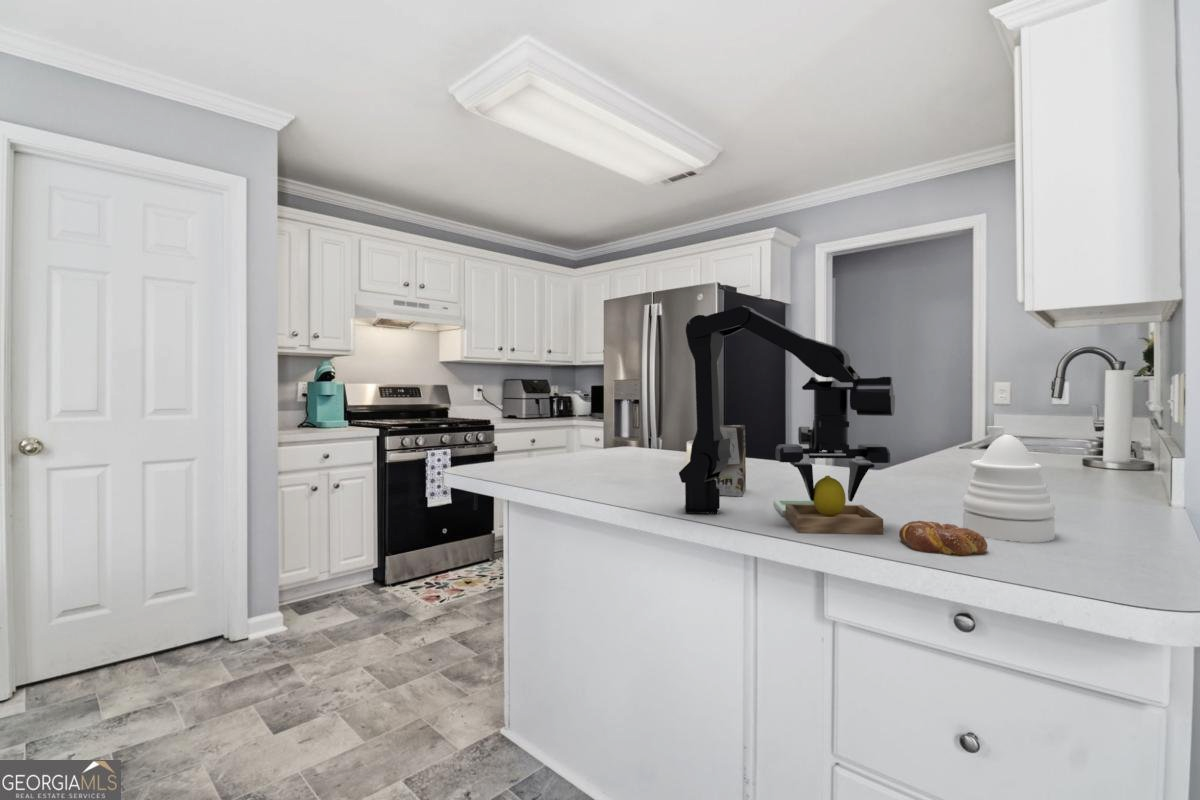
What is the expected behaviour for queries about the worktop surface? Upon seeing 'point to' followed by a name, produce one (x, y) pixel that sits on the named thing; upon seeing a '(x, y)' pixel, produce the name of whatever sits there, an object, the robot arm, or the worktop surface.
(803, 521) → the tray
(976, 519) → the honey pot
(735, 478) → the coffee box
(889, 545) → the worktop surface
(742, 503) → the worktop surface
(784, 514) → the dish
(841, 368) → the robot arm
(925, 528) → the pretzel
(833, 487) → the lemon
